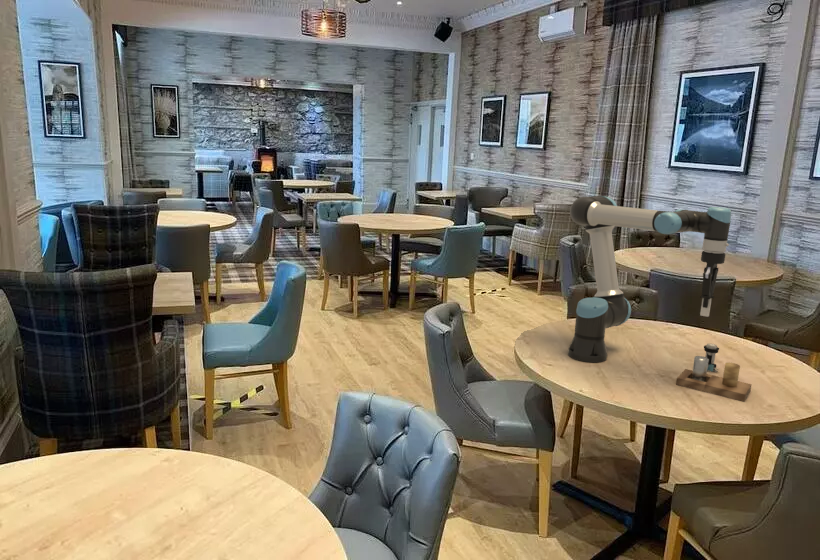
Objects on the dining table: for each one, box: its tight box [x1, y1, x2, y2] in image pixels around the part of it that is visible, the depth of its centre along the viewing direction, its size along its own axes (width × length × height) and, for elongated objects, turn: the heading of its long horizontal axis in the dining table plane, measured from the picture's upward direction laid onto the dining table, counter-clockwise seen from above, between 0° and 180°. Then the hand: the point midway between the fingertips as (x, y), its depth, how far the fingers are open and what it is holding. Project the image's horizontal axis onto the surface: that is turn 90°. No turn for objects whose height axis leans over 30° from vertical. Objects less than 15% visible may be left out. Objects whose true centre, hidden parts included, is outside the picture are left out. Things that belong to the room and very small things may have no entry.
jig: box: [675, 362, 752, 402], centre depth 213 cm, size 22×12×10 cm, turn 52°
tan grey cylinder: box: [692, 355, 709, 382], centre depth 216 cm, size 5×5×10 cm
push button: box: [703, 343, 720, 373], centre depth 231 cm, size 7×5×10 cm
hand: (704, 315), depth 217 cm, fingers closed
